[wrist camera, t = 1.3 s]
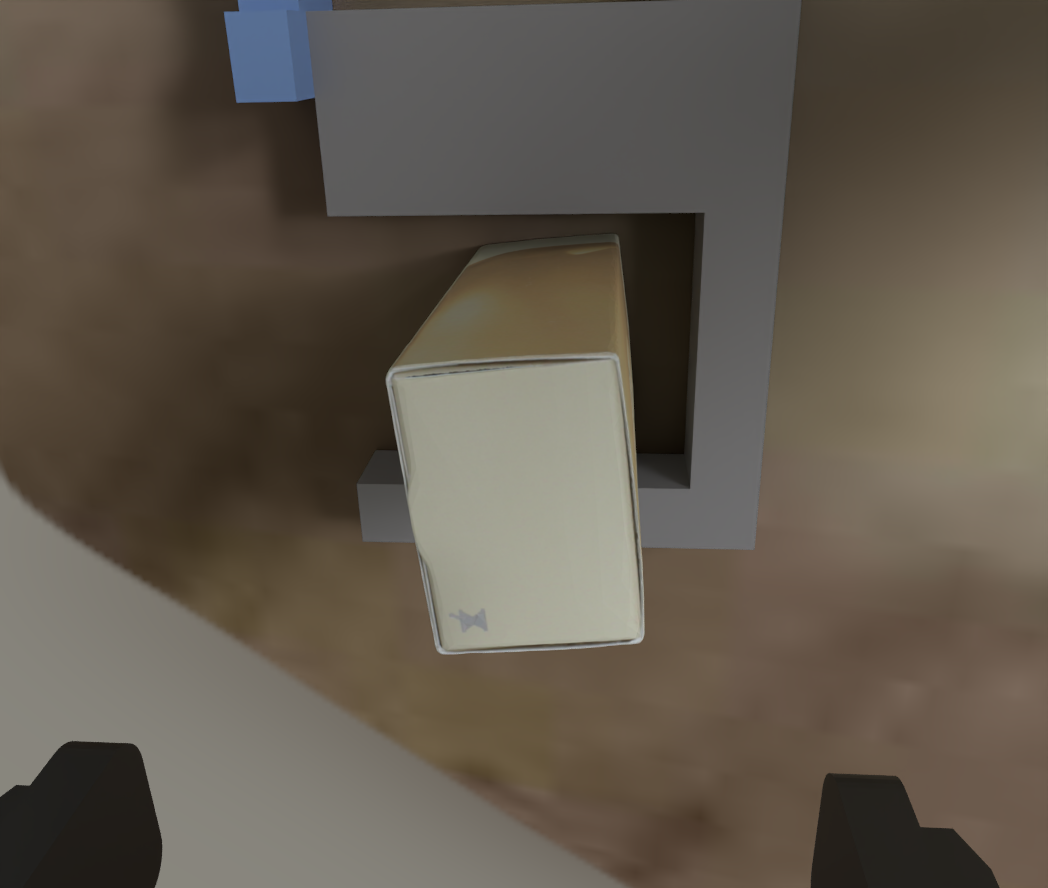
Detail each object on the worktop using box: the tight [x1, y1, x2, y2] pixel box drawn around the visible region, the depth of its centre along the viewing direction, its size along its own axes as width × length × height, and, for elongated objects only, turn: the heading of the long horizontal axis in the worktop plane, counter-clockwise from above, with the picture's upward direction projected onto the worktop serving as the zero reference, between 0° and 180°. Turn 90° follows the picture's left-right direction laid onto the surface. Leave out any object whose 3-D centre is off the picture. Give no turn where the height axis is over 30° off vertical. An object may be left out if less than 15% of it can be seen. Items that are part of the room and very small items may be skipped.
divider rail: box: [224, 0, 802, 550], centre depth 24 cm, size 14×25×4 cm, turn 1°
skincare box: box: [386, 234, 644, 654], centre depth 23 cm, size 6×4×12 cm
